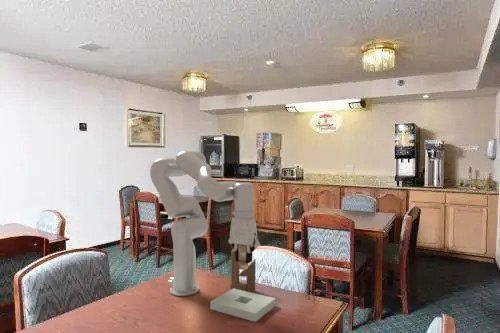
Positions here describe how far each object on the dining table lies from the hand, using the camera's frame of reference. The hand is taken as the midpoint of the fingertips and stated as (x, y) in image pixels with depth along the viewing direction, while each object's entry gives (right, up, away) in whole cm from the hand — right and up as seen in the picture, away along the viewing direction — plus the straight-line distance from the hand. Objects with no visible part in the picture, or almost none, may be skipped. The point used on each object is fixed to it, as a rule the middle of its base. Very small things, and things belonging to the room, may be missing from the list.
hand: (243, 261), depth 135 cm
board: (0, -18, 0) cm, 18 cm away
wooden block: (-1, -18, +17) cm, 25 cm away
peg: (0, -3, 0) cm, 3 cm away
